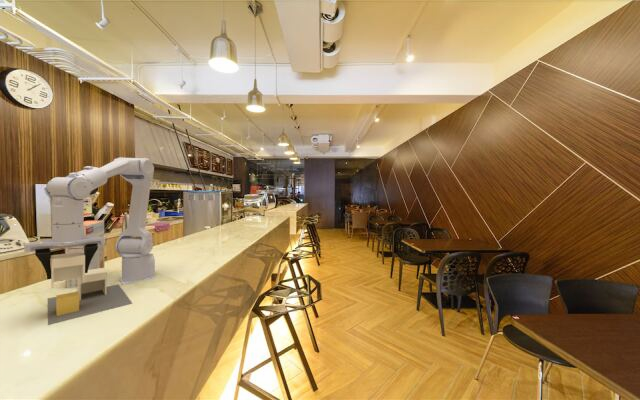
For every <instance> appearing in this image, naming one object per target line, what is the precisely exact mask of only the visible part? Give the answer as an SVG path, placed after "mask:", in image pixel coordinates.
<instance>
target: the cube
mask: <svg viewBox="0 0 640 400" xmlns="http://www.w3.org/2000/svg"><path fill="white" fill-rule="evenodd" d="M55 297H56V312H57V316H59V315H63V314H67V313H71V312H75V311H79V293H78V290H77V291H71V292H67V293H61V294H58V295H56V296H55Z"/></svg>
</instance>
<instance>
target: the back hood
mask: <svg viewBox="0 0 640 400" xmlns="http://www.w3.org/2000/svg"><path fill="white" fill-rule="evenodd" d="M107 274H108V273H107V269H105V267H104V268H98V269H91V270H88V273H85V282H84V283H83V281H82V279H81V278H78V287H77V291H78V293H79V301H80V300H81V294H84V293H89V292H94V291H99V290H103V292H104V294H105V295H107V284H108V283H107V279H108V278H107V276H108V275H107Z"/></svg>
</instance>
